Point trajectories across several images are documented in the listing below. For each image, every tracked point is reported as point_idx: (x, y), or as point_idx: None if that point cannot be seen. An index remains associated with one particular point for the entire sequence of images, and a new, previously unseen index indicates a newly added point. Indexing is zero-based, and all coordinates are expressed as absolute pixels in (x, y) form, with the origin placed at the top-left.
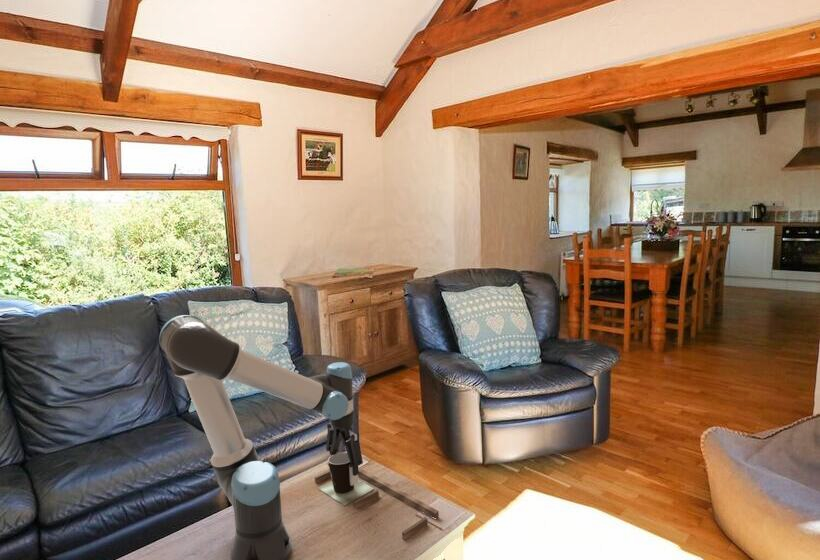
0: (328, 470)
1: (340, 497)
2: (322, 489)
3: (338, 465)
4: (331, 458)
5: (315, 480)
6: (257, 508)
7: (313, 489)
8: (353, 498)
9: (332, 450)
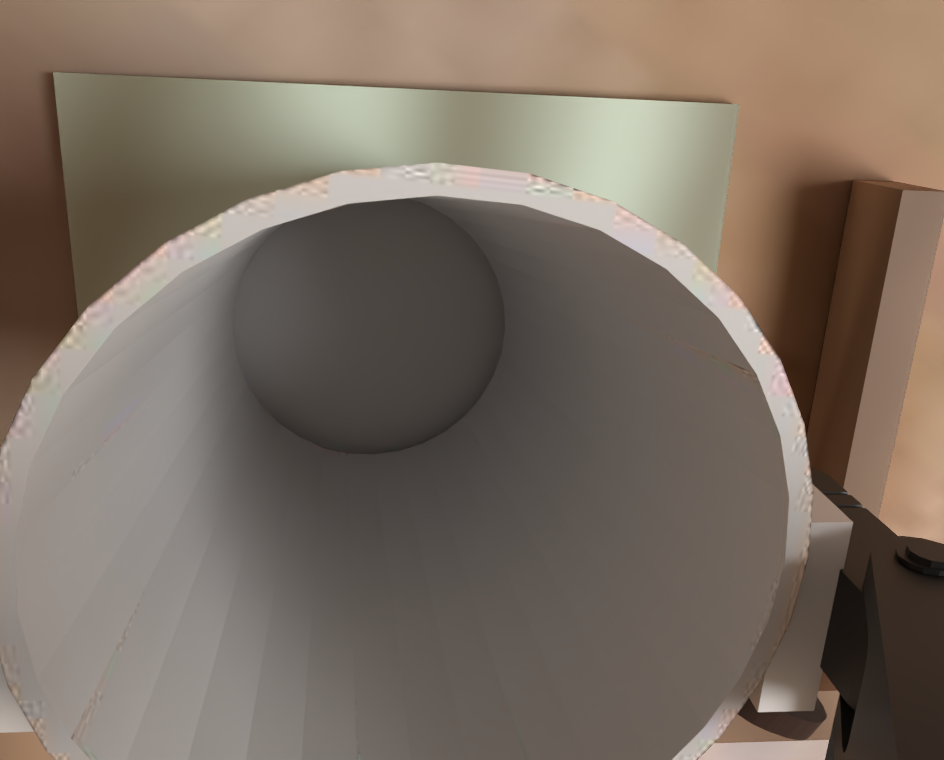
0: (892, 443)
1: (272, 169)
2: (654, 125)
3: (136, 275)
4: (751, 444)
5: (899, 184)
6: None
7: (781, 48)
8: (107, 279)
9: (895, 632)
